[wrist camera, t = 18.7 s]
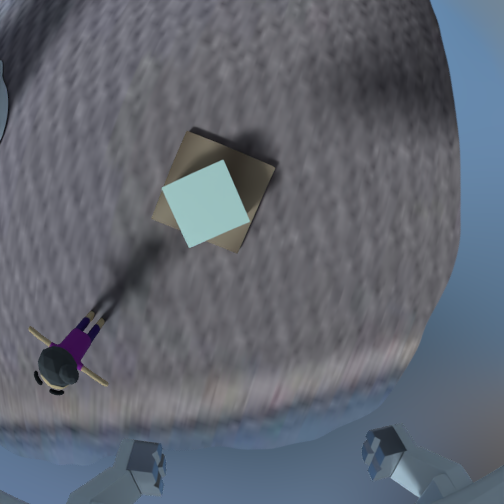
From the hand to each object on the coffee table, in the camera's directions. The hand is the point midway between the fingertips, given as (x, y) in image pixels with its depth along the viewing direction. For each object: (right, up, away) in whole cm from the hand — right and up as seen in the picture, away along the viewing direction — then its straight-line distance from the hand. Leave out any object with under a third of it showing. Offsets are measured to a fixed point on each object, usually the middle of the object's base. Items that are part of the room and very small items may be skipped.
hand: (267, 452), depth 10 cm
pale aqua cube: (-5, +13, +22) cm, 26 cm away
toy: (-20, 0, +25) cm, 32 cm away
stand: (-5, +14, +23) cm, 27 cm away
